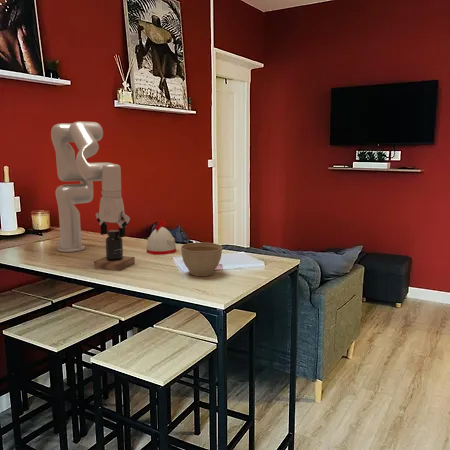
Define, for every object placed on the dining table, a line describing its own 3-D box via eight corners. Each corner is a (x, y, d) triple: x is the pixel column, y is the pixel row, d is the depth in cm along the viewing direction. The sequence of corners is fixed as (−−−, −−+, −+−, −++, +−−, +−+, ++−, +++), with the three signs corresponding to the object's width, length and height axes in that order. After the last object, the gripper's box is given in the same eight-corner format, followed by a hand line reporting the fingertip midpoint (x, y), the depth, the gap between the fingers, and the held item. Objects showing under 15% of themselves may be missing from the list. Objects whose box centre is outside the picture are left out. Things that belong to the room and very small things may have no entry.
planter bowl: (189, 281, 172) (189, 252, 170) (176, 270, 186) (175, 244, 185) (228, 276, 178) (228, 248, 176) (213, 266, 193) (213, 241, 191)
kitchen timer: (181, 250, 224) (181, 219, 221) (165, 256, 212) (164, 223, 209) (157, 247, 230) (157, 217, 228) (140, 252, 218) (139, 221, 215)
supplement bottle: (118, 261, 189) (117, 232, 187) (103, 260, 190) (102, 232, 188) (125, 257, 196) (124, 229, 194) (110, 256, 197) (109, 229, 195)
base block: (94, 268, 189) (94, 261, 189) (110, 261, 201) (109, 255, 200) (120, 270, 186) (120, 263, 185) (134, 263, 197) (134, 256, 197)
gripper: (89, 193, 189) (90, 234, 192) (122, 197, 181) (123, 239, 184) (101, 192, 196) (103, 231, 199) (134, 195, 188) (135, 236, 191)
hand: (113, 235), depth 192 cm, fingers open, 9 cm apart
